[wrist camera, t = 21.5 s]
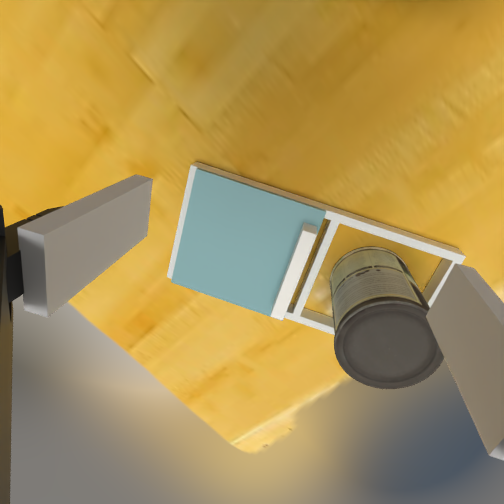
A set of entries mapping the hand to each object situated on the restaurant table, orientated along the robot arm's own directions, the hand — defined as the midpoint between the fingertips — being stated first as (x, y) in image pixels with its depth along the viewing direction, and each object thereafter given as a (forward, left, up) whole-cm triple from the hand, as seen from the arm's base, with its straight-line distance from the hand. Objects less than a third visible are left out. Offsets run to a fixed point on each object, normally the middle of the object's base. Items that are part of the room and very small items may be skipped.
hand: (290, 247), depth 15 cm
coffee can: (+13, +13, -30) cm, 35 cm away
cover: (+13, -4, -27) cm, 30 cm away
